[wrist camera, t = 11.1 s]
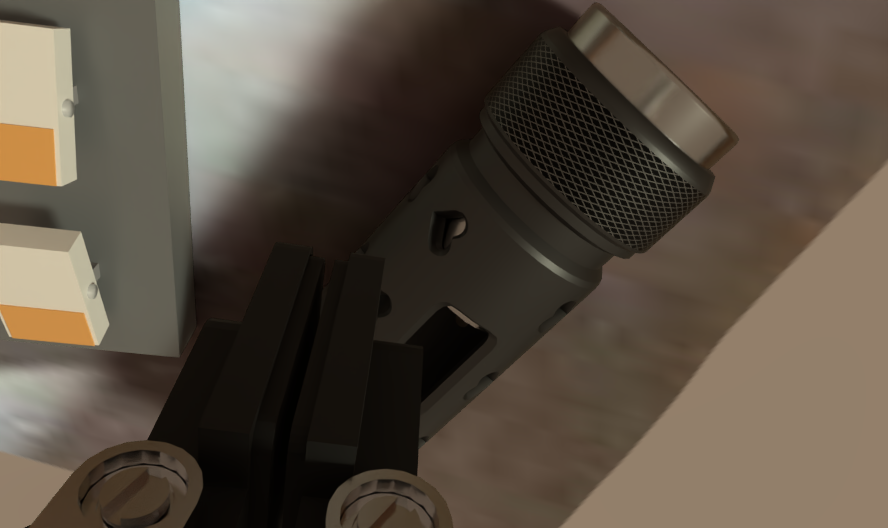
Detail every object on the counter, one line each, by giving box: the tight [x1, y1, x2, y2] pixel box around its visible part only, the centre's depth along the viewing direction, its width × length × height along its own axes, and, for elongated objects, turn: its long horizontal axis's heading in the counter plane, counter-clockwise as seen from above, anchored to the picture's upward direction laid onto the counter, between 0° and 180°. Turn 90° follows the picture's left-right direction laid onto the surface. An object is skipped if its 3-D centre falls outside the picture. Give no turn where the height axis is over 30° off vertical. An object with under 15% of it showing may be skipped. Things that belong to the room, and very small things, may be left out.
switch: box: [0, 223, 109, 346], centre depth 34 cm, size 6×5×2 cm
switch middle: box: [0, 20, 77, 186], centre depth 30 cm, size 6×5×2 cm
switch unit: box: [0, 0, 197, 358], centre depth 33 cm, size 28×11×4 cm, turn 173°
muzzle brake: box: [320, 2, 739, 449], centre depth 35 cm, size 10×28×10 cm, turn 140°
